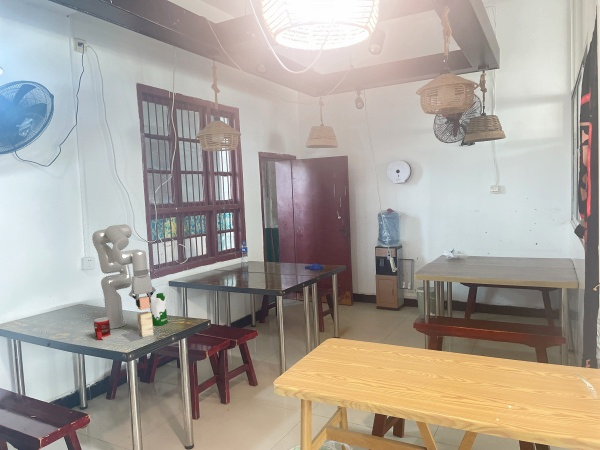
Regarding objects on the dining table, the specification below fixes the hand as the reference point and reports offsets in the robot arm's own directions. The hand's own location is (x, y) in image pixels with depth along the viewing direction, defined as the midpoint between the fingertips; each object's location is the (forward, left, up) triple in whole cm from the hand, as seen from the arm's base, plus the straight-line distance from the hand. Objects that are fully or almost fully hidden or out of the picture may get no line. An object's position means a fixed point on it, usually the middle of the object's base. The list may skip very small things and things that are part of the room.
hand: (143, 305), depth 240 cm
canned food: (-19, -18, -18) cm, 32 cm away
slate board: (-3, -2, -18) cm, 18 cm away
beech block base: (0, 0, -17) cm, 17 cm away
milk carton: (-15, +13, -18) cm, 27 cm away
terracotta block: (0, 0, -2) cm, 2 cm away
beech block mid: (0, 0, -11) cm, 11 cm away
